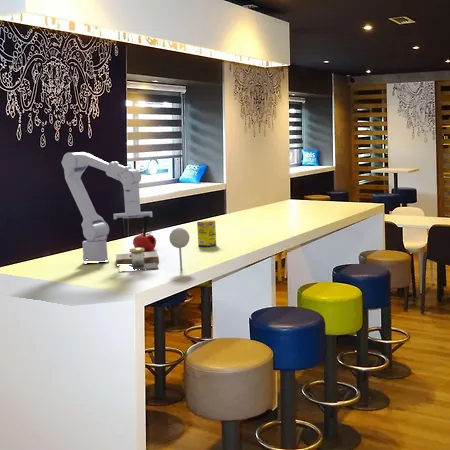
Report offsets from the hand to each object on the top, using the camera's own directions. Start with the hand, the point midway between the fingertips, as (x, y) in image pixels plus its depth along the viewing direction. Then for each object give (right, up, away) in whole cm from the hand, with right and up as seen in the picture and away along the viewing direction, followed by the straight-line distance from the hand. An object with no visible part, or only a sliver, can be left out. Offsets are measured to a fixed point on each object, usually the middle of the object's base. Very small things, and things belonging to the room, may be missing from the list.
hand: (134, 236), depth 234 cm
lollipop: (+19, -12, -14) cm, 27 cm away
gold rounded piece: (+3, -11, -8) cm, 13 cm away
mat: (+3, -11, -8) cm, 14 cm away
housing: (0, -10, +5) cm, 11 cm away
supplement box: (+27, -5, +34) cm, 44 cm away
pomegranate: (0, -7, +31) cm, 31 cm away
